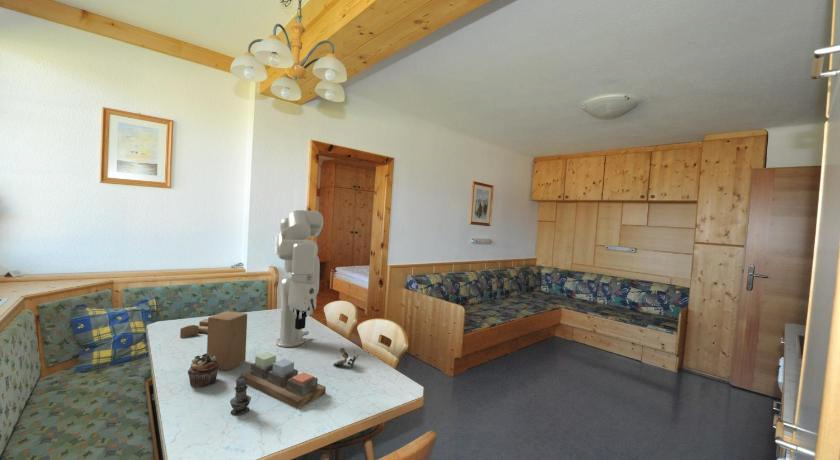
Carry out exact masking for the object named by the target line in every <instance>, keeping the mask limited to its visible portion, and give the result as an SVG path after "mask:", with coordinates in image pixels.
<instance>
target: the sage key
mask: <svg viewBox="0 0 840 460" xmlns="http://www.w3.org/2000/svg"><path fill="white" fill-rule="evenodd" d="M254 360H255V361H254V363H255V365H256V366H258V367H261V368H263V369H264V368H266V367H269V366H271V365H273V363H275V362H277V355H276V354H273V353H270V352H268V351H267V352H264V353H261V354H258V355H256V356H255V358H254Z"/></svg>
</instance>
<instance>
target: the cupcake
mask: <svg viewBox="0 0 840 460" xmlns="http://www.w3.org/2000/svg"><path fill="white" fill-rule="evenodd" d="M219 370H220V369H219V365H218V362H217V360H216V357H215V356H213V355H212V356H208V354H207V352H206V353H203V354H202V355H196V356H194V357H193V358H192V359H191V364H190V367H189V369H188V370H187V375H188V379H189V386H190V387H193V388H199V389H200V388H205V387H209V386H212V385H213V384H215V383H216V382H217V381H216V380H217V377H218V374H219Z"/></svg>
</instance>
